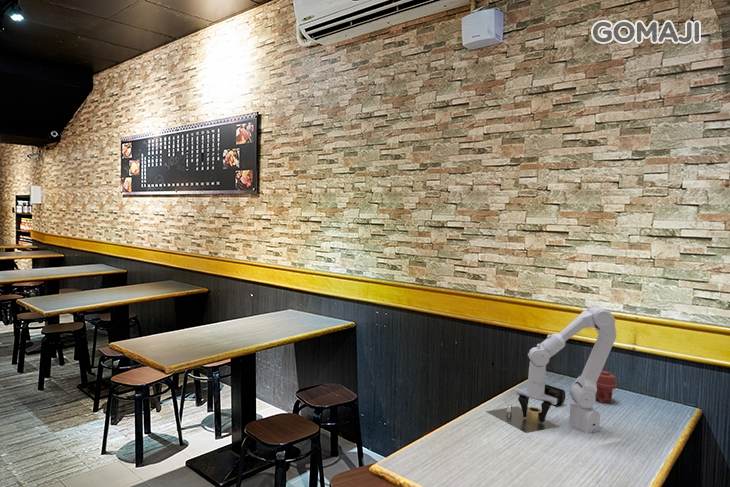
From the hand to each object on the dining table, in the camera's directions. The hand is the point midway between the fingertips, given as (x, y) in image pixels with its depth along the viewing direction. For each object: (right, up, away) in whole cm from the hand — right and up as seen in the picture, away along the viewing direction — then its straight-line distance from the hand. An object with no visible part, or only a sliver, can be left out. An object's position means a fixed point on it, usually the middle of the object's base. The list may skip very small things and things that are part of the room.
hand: (533, 419), depth 173 cm
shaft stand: (-4, -2, +1) cm, 5 cm away
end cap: (+15, -3, +25) cm, 29 cm away
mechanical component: (+40, -4, +31) cm, 51 cm away
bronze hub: (0, -1, 0) cm, 1 cm away
